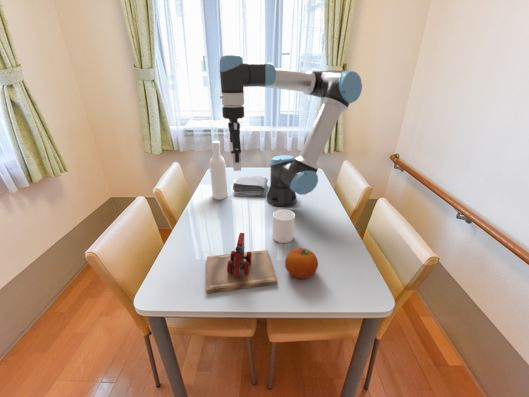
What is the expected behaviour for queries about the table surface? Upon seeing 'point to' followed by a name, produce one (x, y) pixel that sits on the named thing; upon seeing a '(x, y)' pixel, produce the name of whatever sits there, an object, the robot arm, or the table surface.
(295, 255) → the fruit
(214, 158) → the bottle
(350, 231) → the table surface
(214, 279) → the board
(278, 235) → the mug
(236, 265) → the toy fire truck
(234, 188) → the towel
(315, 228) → the table surface
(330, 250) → the table surface
